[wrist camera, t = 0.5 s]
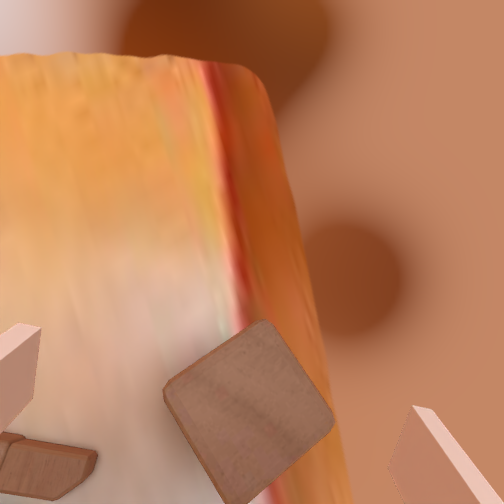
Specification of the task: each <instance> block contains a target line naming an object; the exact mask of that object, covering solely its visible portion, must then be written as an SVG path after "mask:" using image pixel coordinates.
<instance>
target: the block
mask: <svg viewBox="0 0 504 504" xmlns="http://www.w3.org/2000/svg"><path fill="white" fill-rule="evenodd" d="M163 397H164V401H165V403H166V405H167V406H168V408H169V410H170V412H171V413H172V415H173V417H174V418H175V420H176V422H177V423H178V425H179V427H180V428H181V430H182V432H183V434H184V435H185V437H186V439H187V440H188V442H189V444H190V445H191V447H192V449H193V451H194V452H195V454H196V456H197V457H198V459H199V461H200V462H201V464H202V466H203V468H204V469H205V471H206V473H207V474H208V476H209V478H210V479H211V481H212V483H213V485H214V486H215V488H216V490H217V491H218V493H219V495H220V496H221V498H222V500H223V501H224V503H225V504H248V503H249V502H250V501H251V500H252V499H253V498H255V497H256V496H257V495H258V494H259V493H260V492H261V491H263V490H264V489H265V488H266V487H267V486H268V485H269V484H271V483H272V482H273V481H274V480H275V479H276V478H278V477H279V476H280V475H281V474H282V473H283V472H284V471H286V470H287V469H288V468H289V467H290V466H291V465H292V464H294V463H295V462H296V461H297V460H298V459H299V458H300V457H302V456H303V455H304V454H305V453H306V452H307V451H308V450H310V449H311V448H312V447H313V446H314V445H315V444H316V443H318V442H319V441H320V440H321V439H322V438H323V437H324V436H326V435H327V434H328V433H329V432H330V431H331V429H332V427H333V426H334V424H335V419H334V417H333V413H332V411H331V409H330V408H329V406H328V405H327V403H326V402H325V400H324V399H323V397H322V396H321V394H320V393H319V391H318V390H317V388H316V387H315V385H314V384H313V382H312V381H311V380H310V378H309V377H308V375H307V374H306V372H305V371H304V369H303V368H302V366H301V365H300V363H299V362H298V360H297V359H296V357H295V356H294V354H293V353H292V351H291V350H290V349H289V347H288V346H287V344H286V343H285V341H284V340H283V338H282V337H281V335H280V334H279V332H278V331H277V329H276V328H275V326H274V325H273V324H272V323H270V322H269V321H268V320H266V319H263V320H257V321H255V322H254V323H252V324H251V325H249V326H248V327H246V328H245V329H243V330H242V331H240V332H239V333H238V334H236V335H235V336H233V337H232V338H230V339H229V340H227V341H226V342H224V343H223V344H221V345H220V346H218V347H217V348H216V349H214V350H213V351H211V352H210V353H208V354H207V355H205V356H204V357H202V358H201V359H199V360H198V361H196V362H195V363H194V364H192V365H191V366H189V367H188V368H186V369H185V370H183V371H182V372H180V373H179V374H177V375H176V376H174V377H173V378H172V379H170V380H169V381H168V382H167V384H166V385H165V387H164V388H163Z"/></svg>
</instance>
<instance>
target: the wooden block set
mask: <svg viewBox="0 0 504 504" xmlns="http://www.w3.org/2000/svg"><path fill="white" fill-rule="evenodd" d="M96 459H97V453H96V451H93V450H88V449H82V448H76V447H70V446H64V445H59V444H53V443H47V442H41V441H35V440H30V439H25V437H24V436H23V435H18V434H12V433H7V432H2V433H1V434H0V493H5V494H11V495H18V496H24V497H31V498H37V499H43V500H50V501H54V500H58V499H59V498H61V497H62V496H64V495H65V494H66V493H68V492H69V491H71V490H72V489H73V488H75V487H76V486H78V485H79V484H80V483H82V482H83V481H84V480H85V479H86V478H87V477H88V476H89V475H90V474H91V472H92V471H93V469H94V465H95V462H96Z"/></svg>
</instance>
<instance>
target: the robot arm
mask: <svg viewBox="0 0 504 504" xmlns="http://www.w3.org/2000/svg"><path fill="white" fill-rule="evenodd" d="M41 329H42V327H37V326H32V325H27V324H23V323H17V324H16V325H14V326H13V327H11V328H10V329H8V330H7V331H5V332H4V333H3V334H1V335H0V434H1V433H2V432H3V431H4V430H5V428H6V427H7V426H8V425H9V424H10V423H11V422H12V421H13V420H14V419H15V417H16V416H17V415H18V414H19V413H20V412H21V411H22V410H23V409H24V408H25V407H26V405H27V404H28V403H29V402H30V401H31V400H32V399H33V391H34V383H35V376H36V368H37V360H38V352H39V344H40V336H41ZM388 470H389V472H390V474H391V477H392V479H393V481H394V483H395V485H396V487H397V489H398V491H399V493H400V496H401V498H402V500H403V502H404V504H504V503H503V502H502V500H501V499H500V498H499V496H498V495H497V494H496V492H495V491H494V490H493V488H492V487H491V486H490V484H489V483H488V482H487V481H486V479H485V478H484V477H483V475H482V474H481V473H480V471H479V470H478V469H477V467H476V466H475V465H474V464H473V462H472V461H471V460H470V458H469V457H468V456H467V455H466V453H465V452H464V451H463V449H462V448H461V447H460V445H459V444H458V443H457V441H456V440H455V439H454V438H453V436H452V435H451V434H450V432H449V431H448V430H447V428H446V427H445V426H444V424H443V423H442V422H441V421H440V420H439V418H438V417H437V415H436V414H435V413H434V411H433V410H431V409H428V408H423V407H418V406H413V405H412V406H411V409H410V412H409V414H408V417H407V419H406V422H405V424H404V427H403V430H402V432H401V435H400V438H399V440H398V443H397V446H396V448H395V451H394V453H393V456H392V459H391V461H390V464H389V466H388Z"/></svg>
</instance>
